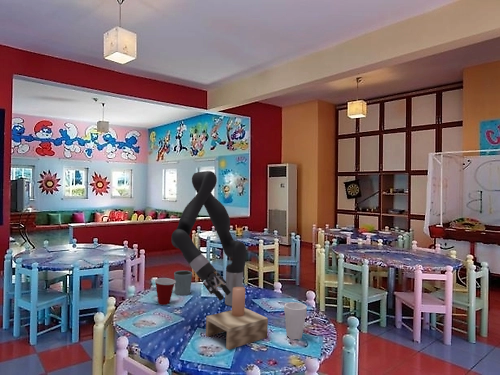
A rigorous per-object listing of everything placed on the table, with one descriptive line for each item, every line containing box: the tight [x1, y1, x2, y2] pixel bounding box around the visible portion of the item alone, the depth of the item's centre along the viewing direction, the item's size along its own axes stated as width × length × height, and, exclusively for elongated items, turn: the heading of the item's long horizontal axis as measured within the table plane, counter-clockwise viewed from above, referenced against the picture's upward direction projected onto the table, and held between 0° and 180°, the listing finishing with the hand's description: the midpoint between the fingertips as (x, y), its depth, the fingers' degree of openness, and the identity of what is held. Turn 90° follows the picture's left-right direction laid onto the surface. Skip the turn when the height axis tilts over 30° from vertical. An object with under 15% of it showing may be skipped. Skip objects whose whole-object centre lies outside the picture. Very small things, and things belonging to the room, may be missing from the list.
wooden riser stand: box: [205, 307, 269, 351], centre depth 149 cm, size 20×16×8 cm
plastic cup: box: [154, 277, 176, 306], centre depth 187 cm, size 11×11×12 cm
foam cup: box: [283, 301, 308, 340], centre depth 151 cm, size 10×9×13 cm
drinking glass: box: [173, 270, 193, 296], centre depth 204 cm, size 10×10×12 cm
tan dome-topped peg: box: [231, 286, 246, 317], centre depth 152 cm, size 5×5×11 cm
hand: (225, 296), depth 154 cm, fingers open, 8 cm apart
